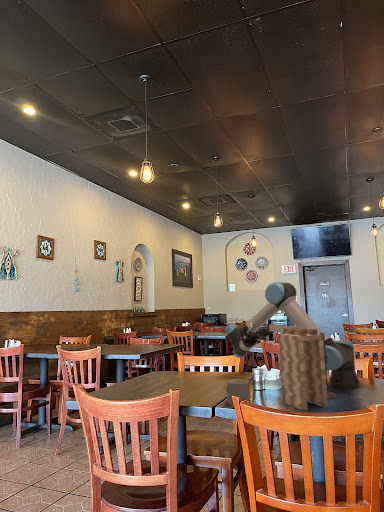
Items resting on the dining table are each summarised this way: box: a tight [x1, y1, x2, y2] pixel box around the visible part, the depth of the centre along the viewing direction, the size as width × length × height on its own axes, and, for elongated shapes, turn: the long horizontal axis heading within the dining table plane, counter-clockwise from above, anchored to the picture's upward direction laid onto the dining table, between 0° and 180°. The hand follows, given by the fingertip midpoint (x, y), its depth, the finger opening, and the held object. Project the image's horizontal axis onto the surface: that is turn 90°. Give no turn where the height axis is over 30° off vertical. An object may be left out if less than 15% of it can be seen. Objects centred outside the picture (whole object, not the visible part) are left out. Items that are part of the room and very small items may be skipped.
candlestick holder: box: [320, 331, 338, 400], centre depth 182 cm, size 9×9×30 cm
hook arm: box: [266, 323, 298, 334], centre depth 187 cm, size 23×4×4 cm, turn 18°
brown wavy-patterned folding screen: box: [278, 328, 329, 412], centre depth 171 cm, size 16×12×32 cm
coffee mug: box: [226, 378, 252, 407], centre depth 175 cm, size 13×10×10 cm
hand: (263, 324), depth 204 cm, fingers open, 13 cm apart
